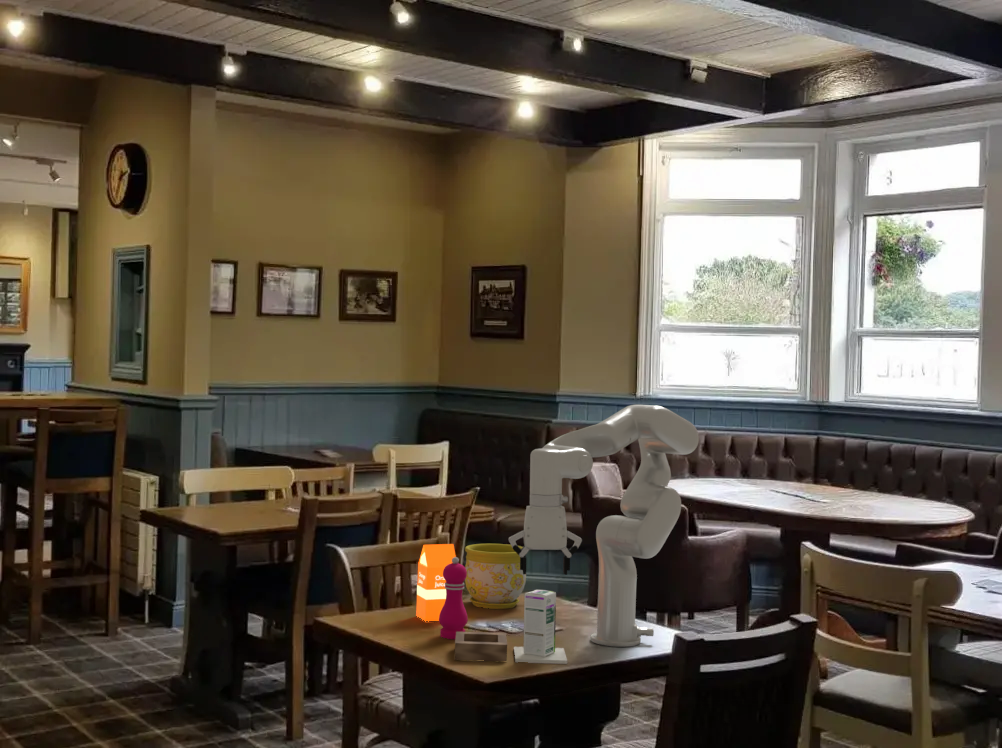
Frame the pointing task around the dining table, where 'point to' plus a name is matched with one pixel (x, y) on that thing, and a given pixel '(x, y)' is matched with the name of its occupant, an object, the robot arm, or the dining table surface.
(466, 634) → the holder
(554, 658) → the plate
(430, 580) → the orange juice
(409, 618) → the dining table surface
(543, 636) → the syrup box
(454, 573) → the pepper mill
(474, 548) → the flowerpot
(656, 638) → the dining table surface
